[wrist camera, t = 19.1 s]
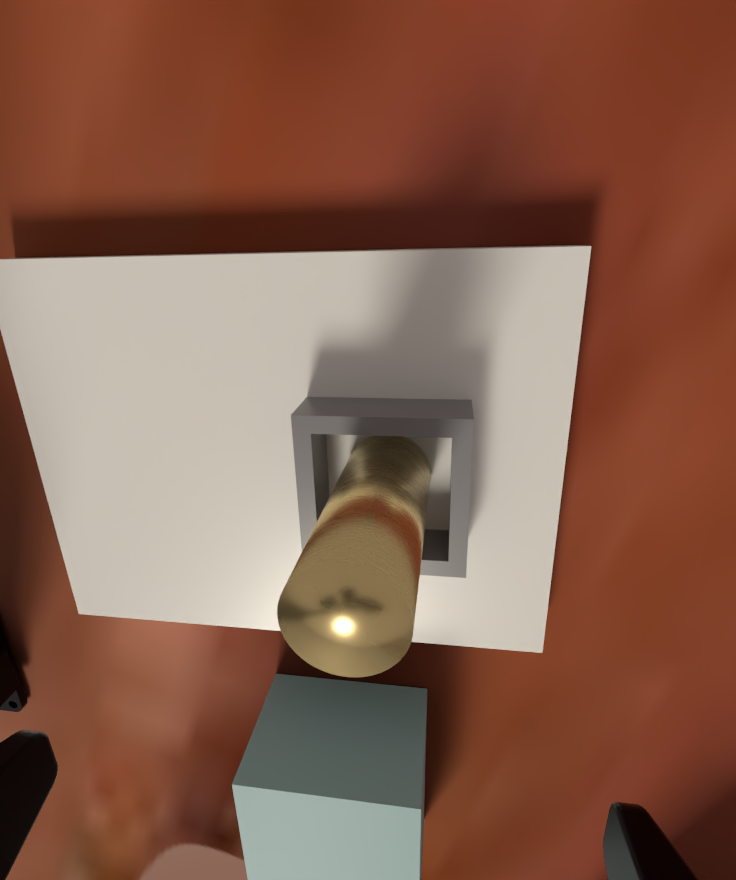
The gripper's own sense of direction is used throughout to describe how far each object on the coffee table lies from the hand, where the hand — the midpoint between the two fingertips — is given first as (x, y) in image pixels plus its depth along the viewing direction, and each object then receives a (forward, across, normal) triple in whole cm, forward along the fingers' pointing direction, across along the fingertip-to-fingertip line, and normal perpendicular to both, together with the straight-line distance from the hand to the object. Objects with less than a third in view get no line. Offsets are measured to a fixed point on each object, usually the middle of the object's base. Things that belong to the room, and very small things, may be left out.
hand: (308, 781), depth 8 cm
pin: (+12, 0, 0) cm, 12 cm away
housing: (+13, +2, +16) cm, 21 cm away
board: (+13, +4, 0) cm, 14 cm away
